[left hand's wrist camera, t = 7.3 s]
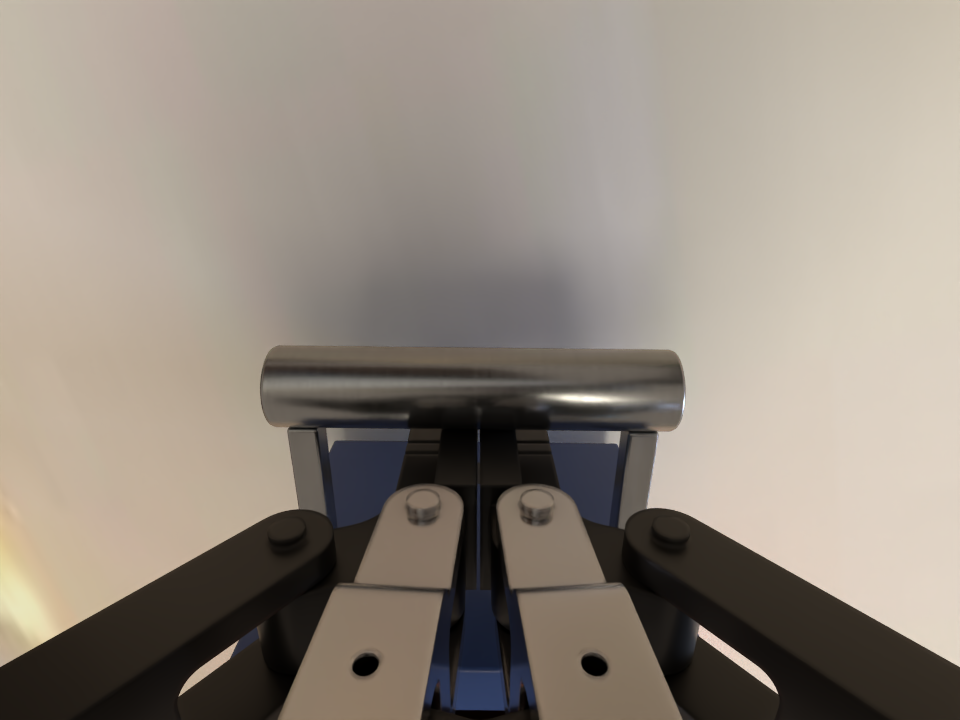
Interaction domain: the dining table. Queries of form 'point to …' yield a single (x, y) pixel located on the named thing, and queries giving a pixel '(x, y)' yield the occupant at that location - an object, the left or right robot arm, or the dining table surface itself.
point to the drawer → (477, 405)
